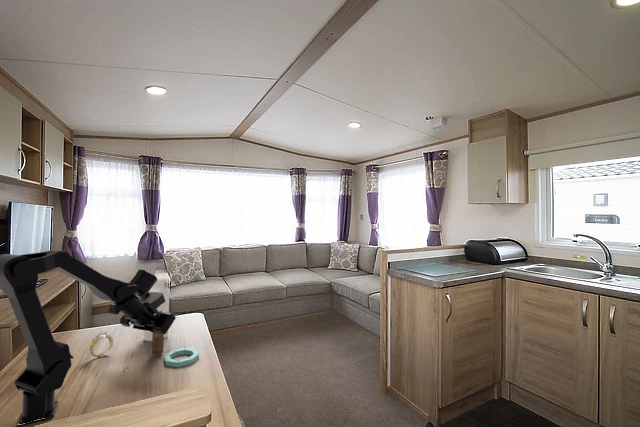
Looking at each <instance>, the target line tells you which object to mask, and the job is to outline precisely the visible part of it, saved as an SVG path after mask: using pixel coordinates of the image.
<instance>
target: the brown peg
mask: <svg viewBox="0 0 640 427" xmlns="http://www.w3.org/2000/svg"><path fill="white" fill-rule="evenodd" d="M161 313H162V310H158V311H157V313H156V315H157V314H161ZM164 340H165V338H164V334H160V333H154V332H152V341H151V355H153V356H154V355H160V354H162V353H163V352H164V345H165V344H164V342H165V341H164Z"/></svg>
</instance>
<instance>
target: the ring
mask: <svg viewBox="0 0 640 427" xmlns="http://www.w3.org/2000/svg"><path fill="white" fill-rule="evenodd" d="M103 338H106V339H108V340H109V346H108V348H107V349H106V350H105V351H104V352H100V353H99V354H97V353H96V354H95V353H94V352H93V349H94V347H95V345H96V344H97V343H98V342H99V341H100V340H101V339H103ZM113 346H114V339H113V336H112V335H111V334H107V331H105V332H102V331H101V332H99V333H98V334H96V335H95V336H93V338H92V339H91V340H90V342H89V345H88V352H89V354H90V356H92V357H94V358H103V357H104V356H106V355H107V354H108V353H109V352H110V351H111V350H112V348H113Z"/></svg>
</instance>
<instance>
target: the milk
mask: <svg viewBox="0 0 640 427" xmlns="http://www.w3.org/2000/svg"><path fill="white" fill-rule="evenodd" d="M170 291H171V290H170V288H169V287H167V286H165V282H164V281H158V280H157V281H156V283H155V284H154V285H153V287H152V288H151V289H150V291H149V292H148V293H151V292H159V293H163V295H164V298H165V302H164V303H163V304H161V305H160V306H159V307H158V308H156V309H157V310H162V313H163V312H167V313H170ZM154 315H156V314H154ZM168 337H169V330H168V331H167V333H166V334H164V339H166V338H168ZM143 341H147V342H152V332H150V331H146V330H143Z"/></svg>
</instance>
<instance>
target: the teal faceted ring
mask: <svg viewBox="0 0 640 427" xmlns="http://www.w3.org/2000/svg"><path fill="white" fill-rule="evenodd" d="M181 355H188V356H189V357H187V358H182V359H175V357H177V356H181ZM173 358H174V359H173ZM198 359H200V353H199V352H198V350H197V348H191V347H182V348H178V349H173V350H171V351H169V352H167V353H166V354H164V358H163V361H164V364H165V366H167V367H172V368H173V367H175V368H179V367H184V366H190V365H192V364H193V363H194V362H196V361H197V360H198Z"/></svg>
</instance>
